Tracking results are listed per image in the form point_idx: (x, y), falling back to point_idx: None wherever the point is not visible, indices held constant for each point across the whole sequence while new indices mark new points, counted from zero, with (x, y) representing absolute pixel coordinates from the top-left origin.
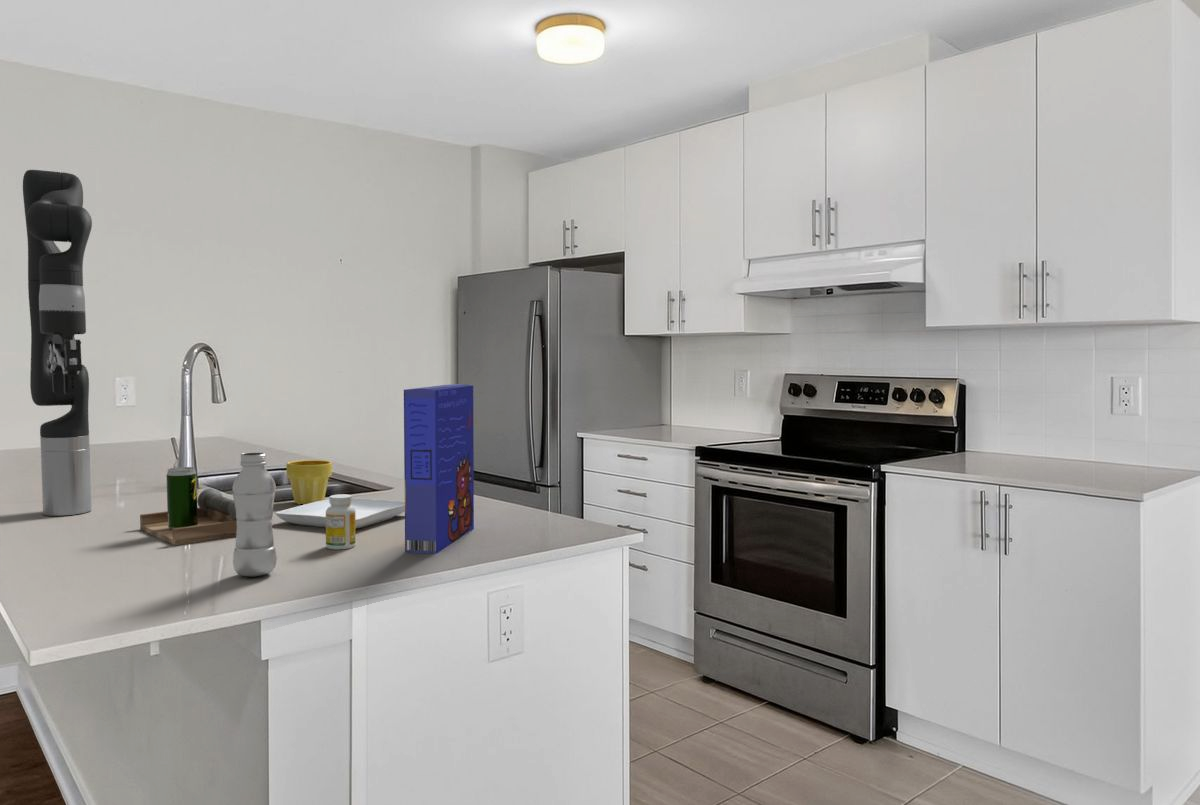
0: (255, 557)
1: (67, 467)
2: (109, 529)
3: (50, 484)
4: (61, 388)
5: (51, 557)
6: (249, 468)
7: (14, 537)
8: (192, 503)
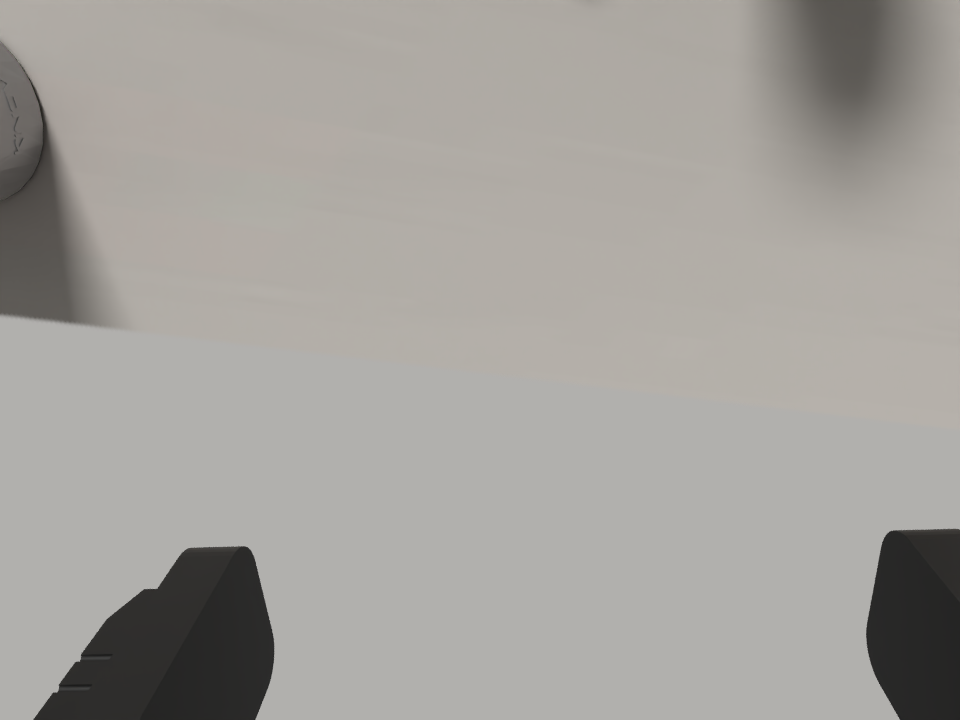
0: None
1: None
2: (472, 34)
3: None
4: (237, 629)
5: (855, 308)
6: None
7: (412, 351)
8: None
